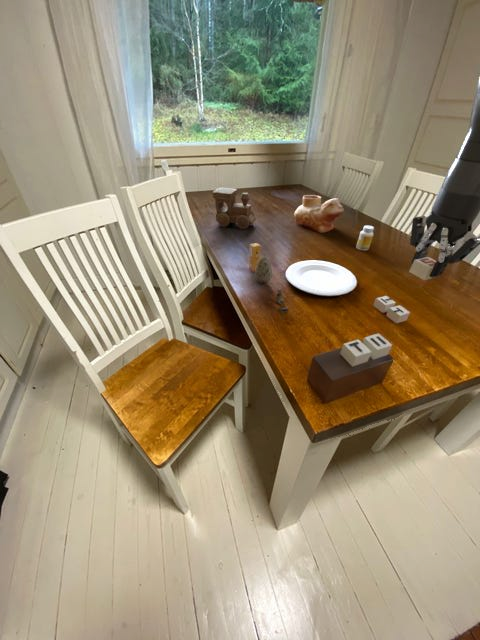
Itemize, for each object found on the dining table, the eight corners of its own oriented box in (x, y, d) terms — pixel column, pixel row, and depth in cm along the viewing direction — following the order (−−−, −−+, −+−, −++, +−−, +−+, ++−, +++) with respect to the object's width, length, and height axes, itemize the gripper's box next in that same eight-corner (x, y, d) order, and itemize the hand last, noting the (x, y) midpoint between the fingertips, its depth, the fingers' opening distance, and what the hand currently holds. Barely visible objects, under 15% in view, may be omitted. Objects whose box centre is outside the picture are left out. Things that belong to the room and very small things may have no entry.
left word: (387, 354, 59) (392, 344, 57) (352, 366, 56) (356, 356, 54) (374, 343, 62) (378, 332, 60) (340, 353, 59) (343, 343, 57)
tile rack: (382, 382, 63) (394, 359, 58) (324, 404, 58) (332, 380, 53) (361, 361, 68) (371, 338, 63) (306, 379, 64) (312, 356, 59)
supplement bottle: (353, 247, 121) (359, 226, 115) (360, 244, 124) (366, 223, 118) (364, 252, 118) (371, 230, 112) (371, 248, 121) (378, 227, 115)
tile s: (437, 277, 60) (444, 264, 58) (424, 280, 59) (430, 267, 57) (421, 268, 63) (427, 256, 61) (408, 271, 62) (414, 259, 60)
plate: (289, 299, 89) (290, 294, 88) (281, 263, 109) (282, 259, 108) (365, 300, 89) (367, 295, 88) (343, 264, 109) (345, 260, 108)
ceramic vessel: (328, 236, 131) (336, 204, 122) (287, 222, 146) (291, 192, 137) (344, 229, 138) (352, 198, 129) (303, 216, 154) (308, 188, 144)
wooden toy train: (213, 226, 141) (211, 191, 130) (221, 219, 149) (220, 186, 139) (250, 231, 136) (251, 195, 126) (256, 223, 145) (257, 189, 134)
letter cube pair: (406, 320, 81) (411, 312, 79) (395, 323, 80) (399, 315, 78) (383, 303, 88) (386, 295, 86) (372, 306, 87) (375, 298, 85)
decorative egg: (260, 276, 101) (261, 251, 95) (274, 281, 98) (276, 255, 92) (251, 283, 97) (252, 257, 91) (265, 288, 94) (267, 262, 88)
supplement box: (256, 266, 107) (257, 242, 101) (259, 270, 104) (261, 245, 98) (248, 268, 106) (249, 243, 100) (251, 272, 103) (252, 247, 97)
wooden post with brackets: (279, 294, 90) (282, 286, 86) (284, 315, 86) (288, 308, 82) (273, 294, 90) (276, 287, 86) (279, 316, 86) (282, 309, 82)
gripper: (522, 196, 45) (466, 284, 56) (444, 178, 56) (410, 255, 67) (492, 201, 43) (441, 291, 54) (417, 181, 53) (386, 260, 64)
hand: (424, 271), depth 60 cm, fingers closed on tile s, 4 cm apart
